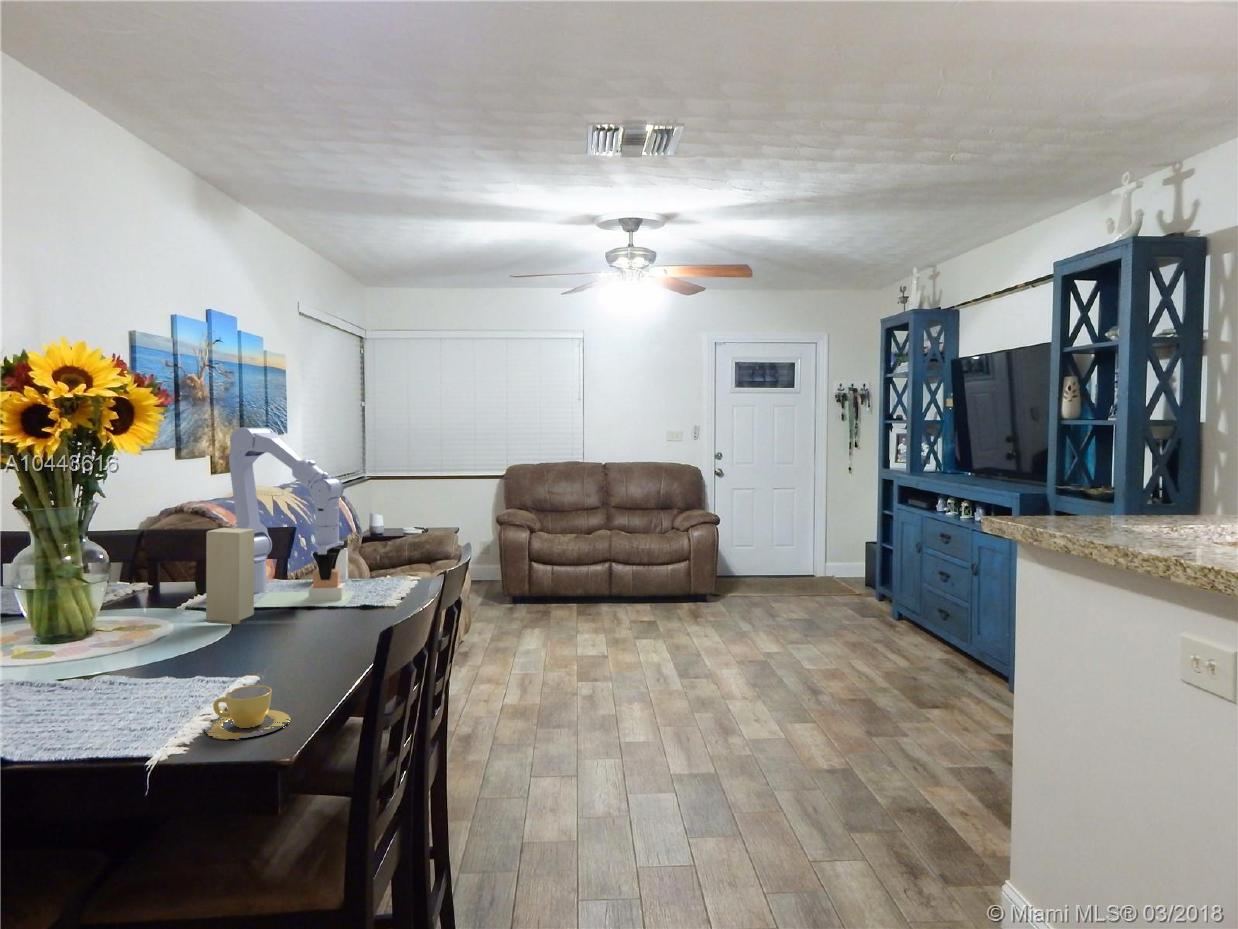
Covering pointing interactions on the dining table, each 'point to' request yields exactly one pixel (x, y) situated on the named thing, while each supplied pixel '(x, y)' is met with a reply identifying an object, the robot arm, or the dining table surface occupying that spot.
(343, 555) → the jar
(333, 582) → the top brick
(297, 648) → the dining table surface
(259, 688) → the cup
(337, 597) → the base brick
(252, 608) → the beige tall rectangular block
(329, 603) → the baseplate
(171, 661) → the dining table surface
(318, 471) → the robot arm
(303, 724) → the dining table surface
